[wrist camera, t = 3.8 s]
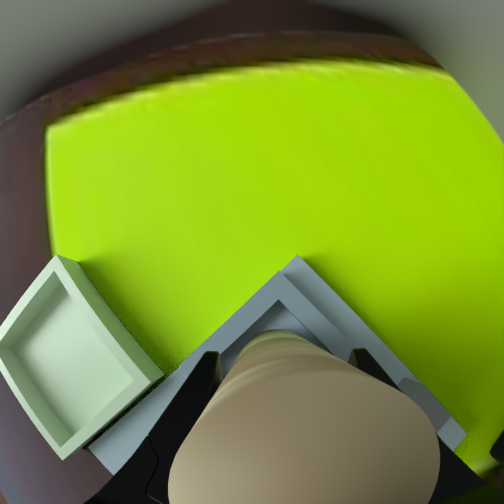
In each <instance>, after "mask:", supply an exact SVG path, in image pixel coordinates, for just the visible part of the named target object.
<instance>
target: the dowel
mask: <svg viewBox="0 0 504 504" xmlns="http://www.w3.org/2000/svg"><path fill="white" fill-rule="evenodd" d="M439 468H440V450H439V443H438V439H437V436H436V433H435V430H434V427H433V426H432V424H431V422H430V420H429V418H428V417H427V415H426V414H425V413H424V412H423V410H422V409H421V408H420V407H419V406H418V405H417V404H416V403H415V402H414V401H413V400H411V399H410V398H409V397H408V396H406V395H405V394H403V393H402V392H400V391H398V390H397V389H395V388H393V387H391V386H389V385H387V384H386V383H384V382H382V381H380V380H378V379H376V378H374V377H372V376H370V375H369V374H367V373H365V372H363V371H361V370H359V369H357V368H356V367H354V366H352V365H350V364H348V363H346V362H345V361H343V360H341V359H339V358H337V357H336V356H334V355H332V354H330V353H328V352H327V351H325V350H323V349H321V348H320V347H318V346H316V345H314V344H312V343H311V342H309V341H307V340H305V339H304V338H302V337H300V336H298V335H297V334H295V333H293V332H290V331H287V330H283V329H271V330H266V331H263V332H261V333H259V334H257V335H255V336H254V337H253V338H251V339H250V340H249V341H248V342H247V343H246V345H245V346H244V348H243V349H242V351H241V353H240V354H239V356H238V358H237V359H236V361H235V362H234V364H233V366H232V367H231V369H230V370H229V372H228V374H227V375H226V377H225V378H224V380H223V381H222V383H221V385H220V386H219V388H218V389H217V391H216V392H215V394H214V396H213V397H212V399H211V400H210V402H209V403H208V405H207V406H206V408H205V410H204V411H203V413H202V414H201V416H200V417H199V419H198V420H197V422H196V423H195V425H194V426H193V428H192V429H191V431H190V432H189V434H188V435H187V437H186V438H185V440H184V441H183V443H182V445H181V447H180V448H179V450H178V452H177V454H176V456H175V458H174V461H173V464H172V467H171V469H170V475H169V481H168V497H169V502H170V504H428V503H429V501H430V498H431V496H432V494H433V492H434V489H435V486H436V483H437V479H438V474H439Z"/></svg>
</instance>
